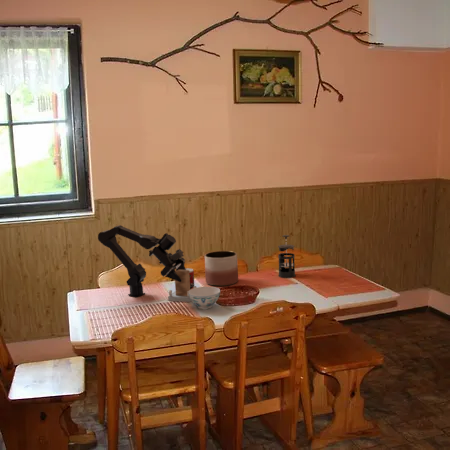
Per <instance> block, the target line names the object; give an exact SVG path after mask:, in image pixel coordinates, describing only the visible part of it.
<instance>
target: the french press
mask: <svg viewBox="0 0 450 450" xmlns="http://www.w3.org/2000/svg"><path fill="white" fill-rule="evenodd" d="M282 237H283V238H284V239H285V240H287V239H288V238H289V237H290V235H289V234H284V235H282ZM277 248H278V251H279V252H280V253H279V254H277V256H278V277H279V278H282V279H291V278H295V277H296V268H295V266H296V264H295V253H291V252H287V250H289V249H290V250H292V251H294V248H295V245H294V244H287V243H285V244H280V245H278V247H277Z"/></svg>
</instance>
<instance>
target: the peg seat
mask: <svg viewBox="0 0 450 450" xmlns="http://www.w3.org/2000/svg"><path fill="white" fill-rule="evenodd" d="M194 288H197V286H195V285H194ZM188 292H189V291H187V296H179V295H176V290H175V291H173V290H172V289H169V290H168V293H169V294H168V296H167V300H168V301H173V302H183V303H184V302H186V303H187V302H189V303H191V302H192V301H191V299H190V297H189V293H188Z"/></svg>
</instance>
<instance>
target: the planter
mask: <svg viewBox="0 0 450 450" xmlns="http://www.w3.org/2000/svg"><path fill="white" fill-rule="evenodd" d="M204 274H205V276H204V277H205V282H206V284H208V285H210V286H212V287H226V286H232V285H235V284H236V283H237V282H238V281H239V267H238V253H237V252H235V251H232V250H215V251H209V252H207V253H205V254H204Z"/></svg>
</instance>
